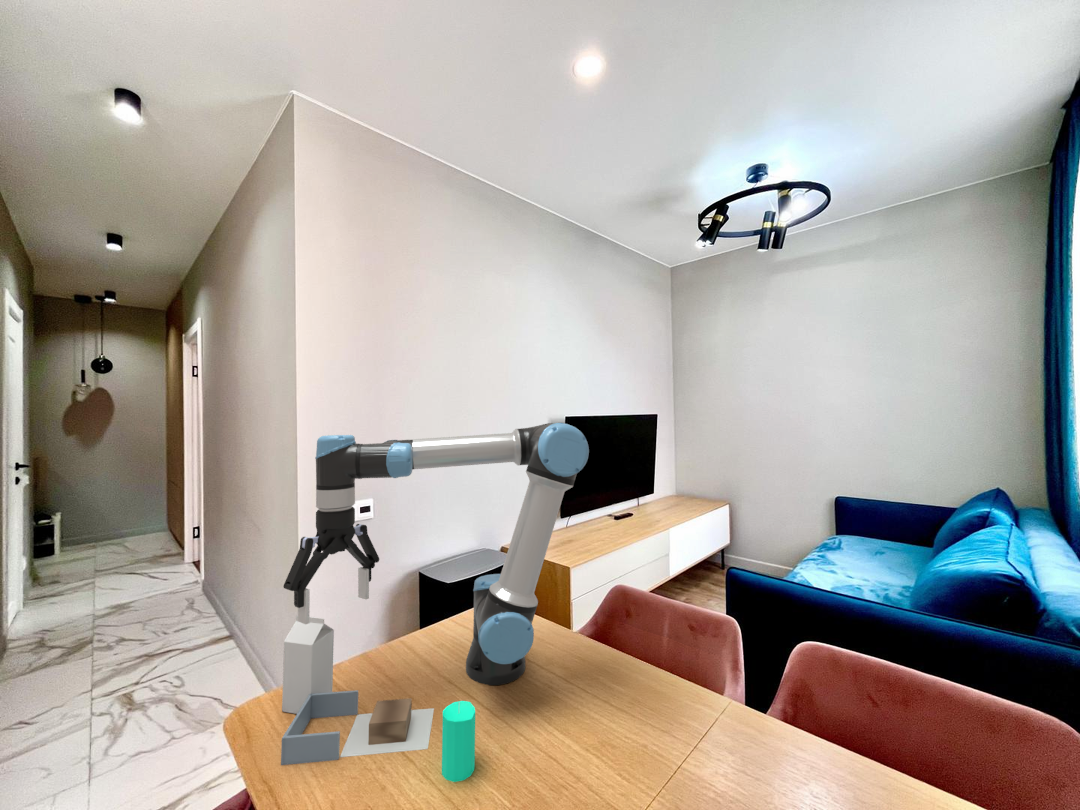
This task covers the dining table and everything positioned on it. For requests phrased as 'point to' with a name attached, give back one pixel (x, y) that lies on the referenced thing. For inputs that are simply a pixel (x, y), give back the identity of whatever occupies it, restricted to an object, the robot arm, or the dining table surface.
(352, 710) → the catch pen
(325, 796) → the dining table surface
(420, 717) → the runner mat
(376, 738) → the brown block
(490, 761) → the dining table surface
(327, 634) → the milk carton
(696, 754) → the dining table surface
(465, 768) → the candle
